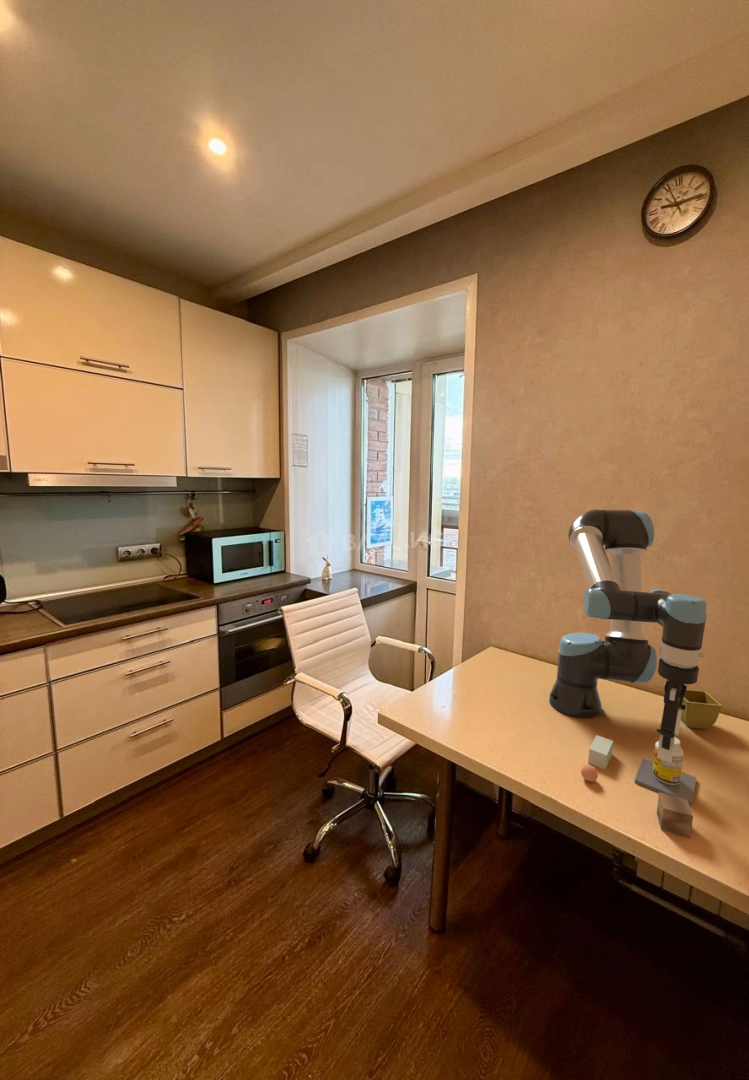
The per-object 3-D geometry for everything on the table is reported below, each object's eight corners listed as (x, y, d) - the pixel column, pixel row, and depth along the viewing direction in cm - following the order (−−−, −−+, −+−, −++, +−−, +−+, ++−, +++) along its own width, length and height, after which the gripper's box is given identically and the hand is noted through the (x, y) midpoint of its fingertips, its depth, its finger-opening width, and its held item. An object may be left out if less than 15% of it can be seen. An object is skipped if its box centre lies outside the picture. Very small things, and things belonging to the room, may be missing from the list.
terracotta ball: (578, 780, 101) (579, 766, 101) (582, 772, 104) (583, 759, 103) (594, 787, 99) (596, 773, 98) (598, 779, 102) (600, 765, 101)
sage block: (587, 763, 108) (589, 748, 107) (595, 748, 114) (596, 735, 113) (605, 770, 105) (606, 755, 105) (611, 755, 111) (613, 740, 111)
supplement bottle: (653, 767, 105) (657, 729, 104) (681, 777, 101) (685, 738, 100) (650, 779, 101) (654, 739, 100) (678, 790, 97) (683, 749, 96)
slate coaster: (634, 782, 101) (634, 779, 101) (642, 760, 109) (643, 757, 109) (691, 805, 94) (692, 802, 93) (695, 780, 102) (696, 777, 102)
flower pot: (718, 734, 121) (722, 705, 120) (684, 730, 123) (688, 701, 122) (702, 718, 130) (705, 690, 129) (670, 715, 132) (673, 687, 130)
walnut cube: (660, 829, 87) (663, 807, 86) (656, 813, 91) (658, 792, 91) (690, 838, 85) (693, 816, 84) (684, 821, 89) (687, 799, 89)
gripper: (694, 686, 86) (681, 780, 89) (703, 649, 104) (692, 728, 108) (651, 675, 91) (640, 764, 94) (666, 641, 109) (657, 717, 112)
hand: (668, 745), depth 101 cm, fingers open, 13 cm apart
